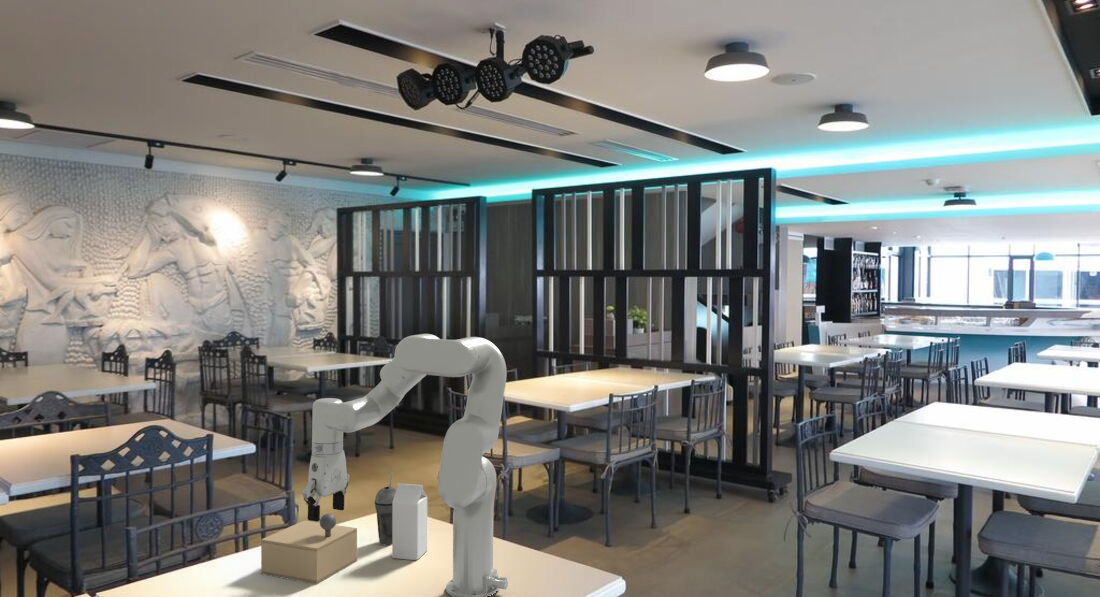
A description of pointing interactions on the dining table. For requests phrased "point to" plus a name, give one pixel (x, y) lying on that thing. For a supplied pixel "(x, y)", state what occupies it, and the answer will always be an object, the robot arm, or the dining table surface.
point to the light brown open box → (308, 560)
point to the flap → (311, 534)
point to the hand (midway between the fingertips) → (326, 514)
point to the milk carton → (409, 522)
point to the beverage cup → (385, 513)
